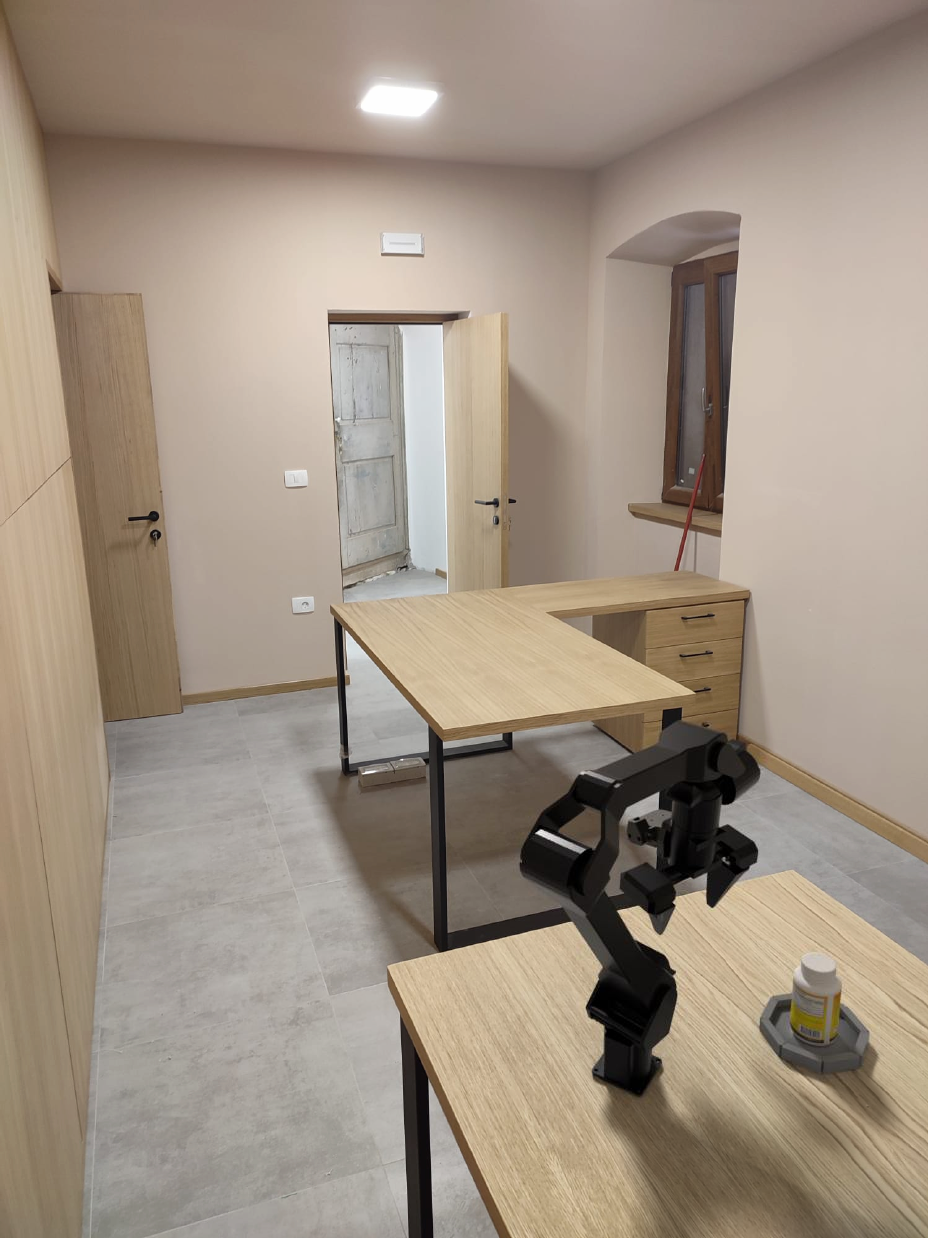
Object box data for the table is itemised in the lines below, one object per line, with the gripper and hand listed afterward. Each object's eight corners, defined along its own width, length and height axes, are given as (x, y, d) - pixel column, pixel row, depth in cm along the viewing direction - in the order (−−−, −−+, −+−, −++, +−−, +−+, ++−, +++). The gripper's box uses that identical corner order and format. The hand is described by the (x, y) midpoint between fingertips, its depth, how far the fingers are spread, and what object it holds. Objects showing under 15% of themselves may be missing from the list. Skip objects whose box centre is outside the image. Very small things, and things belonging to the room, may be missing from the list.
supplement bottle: (822, 1015, 111) (829, 946, 109) (845, 1046, 106) (853, 974, 103) (781, 1019, 111) (786, 949, 108) (802, 1051, 105) (808, 978, 103)
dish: (853, 1087, 100) (855, 1076, 100) (750, 1045, 107) (751, 1035, 107) (874, 1026, 110) (875, 1015, 109) (778, 991, 117) (778, 981, 116)
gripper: (701, 766, 117) (692, 860, 123) (593, 811, 108) (588, 909, 114) (767, 807, 108) (753, 906, 114) (655, 859, 99) (646, 963, 105)
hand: (684, 919), depth 112 cm, fingers open, 9 cm apart
